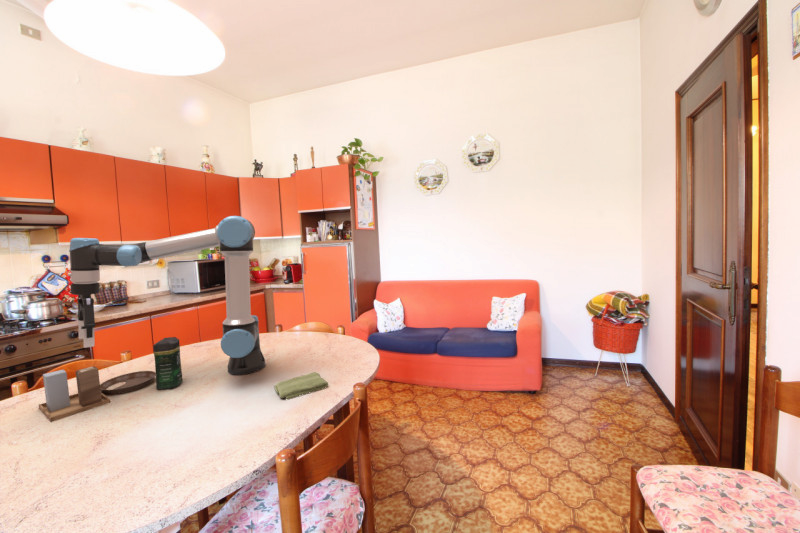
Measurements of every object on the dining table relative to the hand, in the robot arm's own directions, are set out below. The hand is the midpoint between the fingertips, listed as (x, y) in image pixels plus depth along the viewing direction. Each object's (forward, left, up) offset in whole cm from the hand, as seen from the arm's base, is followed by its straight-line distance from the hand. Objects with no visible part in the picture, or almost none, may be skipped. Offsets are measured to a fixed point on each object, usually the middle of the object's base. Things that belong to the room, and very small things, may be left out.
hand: (86, 342), depth 121 cm
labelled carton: (-2, +1, -21) cm, 21 cm away
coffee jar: (-10, -21, -22) cm, 32 cm away
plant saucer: (+4, -12, -22) cm, 25 cm away
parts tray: (+1, +5, -21) cm, 22 cm away
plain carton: (+4, +8, -21) cm, 23 cm away
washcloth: (-57, -46, -22) cm, 76 cm away
